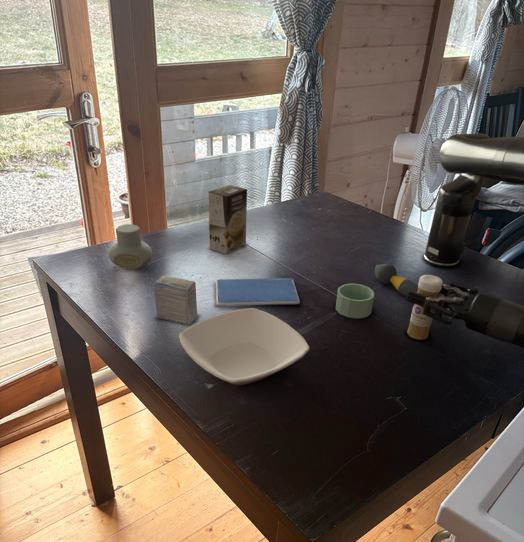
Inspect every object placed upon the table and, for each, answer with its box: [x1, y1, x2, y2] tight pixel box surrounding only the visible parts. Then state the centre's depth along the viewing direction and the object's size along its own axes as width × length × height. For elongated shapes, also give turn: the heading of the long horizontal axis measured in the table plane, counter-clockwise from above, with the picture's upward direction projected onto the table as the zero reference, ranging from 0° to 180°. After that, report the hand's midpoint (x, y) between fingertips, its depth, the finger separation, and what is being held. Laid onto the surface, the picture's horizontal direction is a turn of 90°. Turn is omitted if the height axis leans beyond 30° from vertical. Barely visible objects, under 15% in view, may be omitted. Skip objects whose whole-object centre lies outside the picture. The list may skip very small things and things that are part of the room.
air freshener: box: [108, 223, 153, 271], centre depth 131 cm, size 11×8×10 cm
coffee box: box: [208, 184, 248, 255], centre depth 141 cm, size 9×6×16 cm
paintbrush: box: [374, 263, 418, 298], centre depth 126 cm, size 20×5×5 cm, turn 38°
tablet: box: [215, 277, 301, 307], centre depth 123 cm, size 19×13×1 cm, turn 95°
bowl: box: [178, 307, 310, 386], centre depth 99 cm, size 22×22×5 cm
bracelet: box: [335, 283, 375, 320], centre depth 118 cm, size 8×8×4 cm
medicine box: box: [153, 275, 198, 325], centre depth 111 cm, size 8×4×9 cm, turn 71°
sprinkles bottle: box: [406, 274, 444, 341], centre depth 107 cm, size 5×5×14 cm
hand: (416, 289), depth 107 cm, fingers open, 6 cm apart
